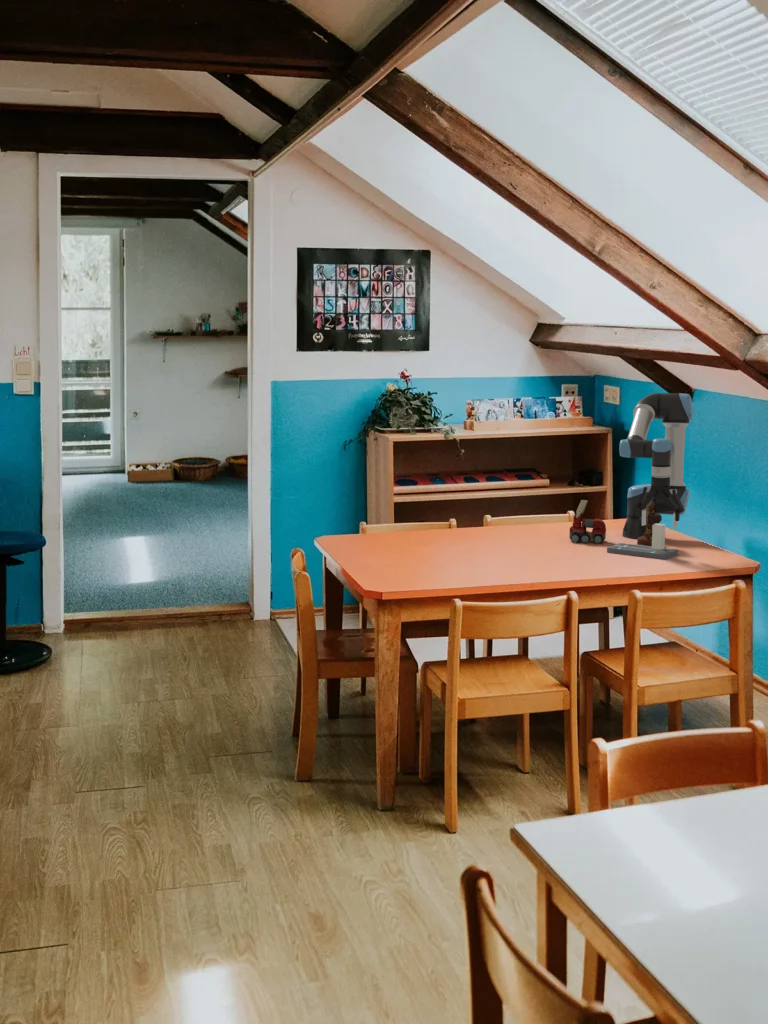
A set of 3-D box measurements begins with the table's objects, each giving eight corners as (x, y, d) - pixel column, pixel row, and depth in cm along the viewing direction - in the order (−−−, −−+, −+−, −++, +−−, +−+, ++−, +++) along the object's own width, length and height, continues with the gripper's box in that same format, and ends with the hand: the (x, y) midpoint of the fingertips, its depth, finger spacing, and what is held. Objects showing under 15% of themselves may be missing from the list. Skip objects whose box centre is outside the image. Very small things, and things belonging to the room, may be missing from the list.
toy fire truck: (604, 544, 487) (605, 504, 484) (568, 542, 491) (569, 503, 488) (606, 539, 497) (607, 500, 495) (571, 538, 502) (572, 499, 499)
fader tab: (654, 548, 466) (655, 523, 464) (666, 549, 463) (667, 524, 461) (650, 550, 462) (650, 524, 460) (661, 551, 459) (662, 526, 457)
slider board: (619, 547, 480) (620, 541, 479) (677, 554, 464) (678, 548, 464) (606, 552, 469) (607, 546, 469) (665, 559, 454) (665, 553, 454)
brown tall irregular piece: (662, 549, 474) (659, 503, 471) (636, 550, 477) (633, 504, 474) (664, 543, 488) (661, 498, 485) (638, 543, 492) (636, 499, 489)
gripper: (628, 475, 462) (627, 525, 466) (686, 480, 447) (684, 531, 451) (636, 472, 468) (634, 522, 472) (693, 477, 453) (691, 528, 457)
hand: (659, 526), depth 461 cm, fingers open, 13 cm apart
